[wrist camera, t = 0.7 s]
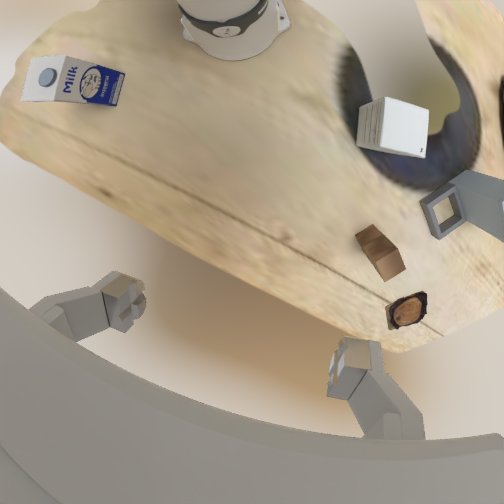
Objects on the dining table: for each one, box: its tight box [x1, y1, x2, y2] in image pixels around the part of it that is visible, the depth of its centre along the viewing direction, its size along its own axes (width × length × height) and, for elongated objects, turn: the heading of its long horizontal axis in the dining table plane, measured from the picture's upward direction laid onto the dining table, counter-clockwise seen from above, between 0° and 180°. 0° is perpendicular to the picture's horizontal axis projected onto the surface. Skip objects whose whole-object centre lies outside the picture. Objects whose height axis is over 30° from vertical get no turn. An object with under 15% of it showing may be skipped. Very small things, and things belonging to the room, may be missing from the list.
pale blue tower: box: [420, 170, 504, 242], centre depth 35 cm, size 14×9×17 cm, turn 125°
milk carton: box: [21, 55, 125, 106], centre depth 31 cm, size 7×7×20 cm
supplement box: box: [356, 97, 429, 158], centre depth 35 cm, size 7×7×13 cm
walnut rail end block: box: [355, 224, 406, 282], centre depth 43 cm, size 4×4×12 cm
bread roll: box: [385, 291, 427, 330], centre depth 52 cm, size 11×8×4 cm
